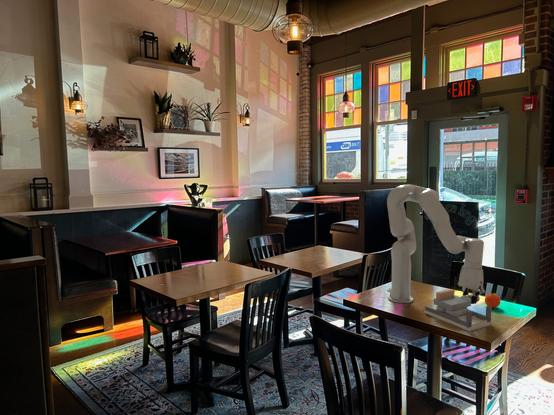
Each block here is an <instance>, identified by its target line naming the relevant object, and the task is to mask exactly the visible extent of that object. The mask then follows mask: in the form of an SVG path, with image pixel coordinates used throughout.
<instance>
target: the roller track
mask: <svg viewBox="0 0 554 415" xmlns="http://www.w3.org/2000/svg"><path fill="white" fill-rule="evenodd" d="M468 308H469V307H465V308H461V309H456V310H452V311H451V310H448V309H446V308H443V307H440V306H438V305H436V307H432V306H429V305H424V314H427V315H428V316H432V317H433V318H436V319H438V320H441V321H442V322H445V323H448V324H451V325H453V326H456V327H458V328H460V329H463V330H465V331H468V332H470V331H473V330H477V329H481V328H485V327H489V326H491V322H492V309H493V308H492V306H487V305H486V306H485V315H484V314H482V313H479V312H476V311H473V310H471V309H468Z"/></svg>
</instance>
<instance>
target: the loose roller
mask: <svg viewBox="0 0 554 415" xmlns="http://www.w3.org/2000/svg"><path fill="white" fill-rule="evenodd" d="M472 296H473V293H471V294H470V293H469V295H465V296H463V295H462V296H460V297H462V298H465V299H468V300H471V298H472ZM479 301H480V295H479V296H478V297H477V303H478V302H479Z"/></svg>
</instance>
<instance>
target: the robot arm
mask: <svg viewBox="0 0 554 415" xmlns="http://www.w3.org/2000/svg"><path fill="white" fill-rule="evenodd" d="M386 198H387V199H386V204H387V205H386V207H387V212H388V219H389V220H388V221H389V228H390V233H391V234H392V236H393V237H395V238H397V241H395V242H394V243H393V244H392V245H391V249H390V254H391V287H389V288H388V289H387V290H386V291H387V292H388V293H389V294H388V296H387V299H388V300H389V301H390V302H394V303H398V304H410V303H412V302H413V301H414V297H412V295H411V286H412V285H411V284H412V283H411V281H412V280H411V278H412V261H411V256H412V255H413V254H414V253H415V252H416V250H417V239H416V231H415V226H414V223H413V221H412V220H411V219H409V218H408V217H407V215H406V214H407V213H406V208H405V205H404V203H405V202H413V203H418V204H419V206H420V207H421V208H422V210H423V211H424V213H425V215H426V216H427V217H428V219H429V220H430V222H431V224H432V226H433V228H434V231H435V233H436V235H437V237H438V239H439V240H440V241H441V243H442V245H443V246H444V248H445V249H446V250H447V251H448V252H449V253H451V254H452V255H453V254H454V255H458V254H460V253H461V252H464V259H463V260H462V262H463V263H464V264H463V265H462V266H461V269H460V273H459V279H458V282H457V285H458V286H459V287H460V289H461V292H462V296H465V295H470V292H469V290H471V291H472V294H473V296H472V298H471V305H475V304H477V303H478V302H477V297H478V296H479V297H480V295H481V294H484V293H486V291H485V289H484V270H483V257H484V249H485V248H484V246H485V242H484V241H483V239H481V238H475V237H474V238H473V237H467V236H463V235H456V232H455V231H454V229H453V228H452V225H451V222H450V215H449V213H448V212H447V210H446V209H445V207H444V206H443V205H442V203H441V202H440V195H439V193H438V191H436V190H434V189H431V188H427V187H423V186H418V185H415V184H402V185H399V186H396V187H395V188H393V189H392V190H391V191H390V192H389V193H388V195H387V197H386Z"/></svg>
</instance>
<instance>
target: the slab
mask: <svg viewBox="0 0 554 415" xmlns="http://www.w3.org/2000/svg"><path fill="white" fill-rule="evenodd" d="M455 291H456V290H455V289H452V288H448V289H444V290H439V291H436V292H435V298H433V303H432V304H433V305H435V306H440V307H443V308H446V309H448V310H451V311H452V310H456V309H461V308H465V307H467V308H469V307H471V306H472V304H471V300H468V299H465V298H462V297H461V296H458V295H456V294H455Z"/></svg>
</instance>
